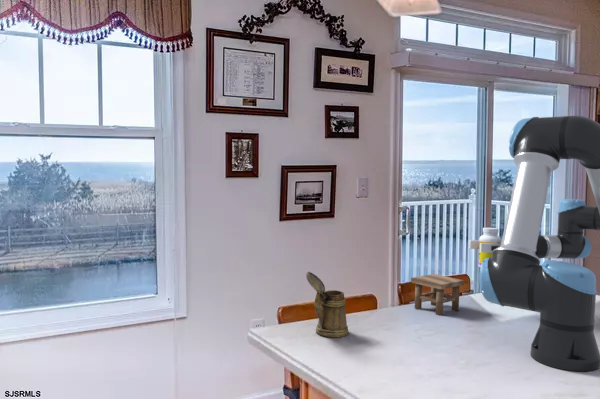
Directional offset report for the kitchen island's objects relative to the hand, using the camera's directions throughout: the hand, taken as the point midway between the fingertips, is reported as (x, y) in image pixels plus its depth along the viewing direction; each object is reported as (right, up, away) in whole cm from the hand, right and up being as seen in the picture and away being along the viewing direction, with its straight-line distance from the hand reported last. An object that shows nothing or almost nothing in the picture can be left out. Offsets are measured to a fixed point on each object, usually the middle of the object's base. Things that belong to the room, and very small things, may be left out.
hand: (475, 246), depth 167 cm
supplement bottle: (+5, -7, +1) cm, 9 cm away
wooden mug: (-49, -22, -23) cm, 58 cm away
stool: (-11, -21, +5) cm, 24 cm away
